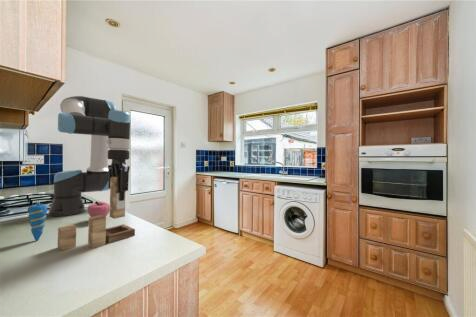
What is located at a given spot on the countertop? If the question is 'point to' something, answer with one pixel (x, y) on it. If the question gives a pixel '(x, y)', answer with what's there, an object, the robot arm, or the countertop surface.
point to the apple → (98, 209)
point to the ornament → (37, 219)
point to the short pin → (66, 237)
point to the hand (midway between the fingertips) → (117, 207)
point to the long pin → (113, 195)
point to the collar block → (119, 233)
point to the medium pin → (97, 231)
